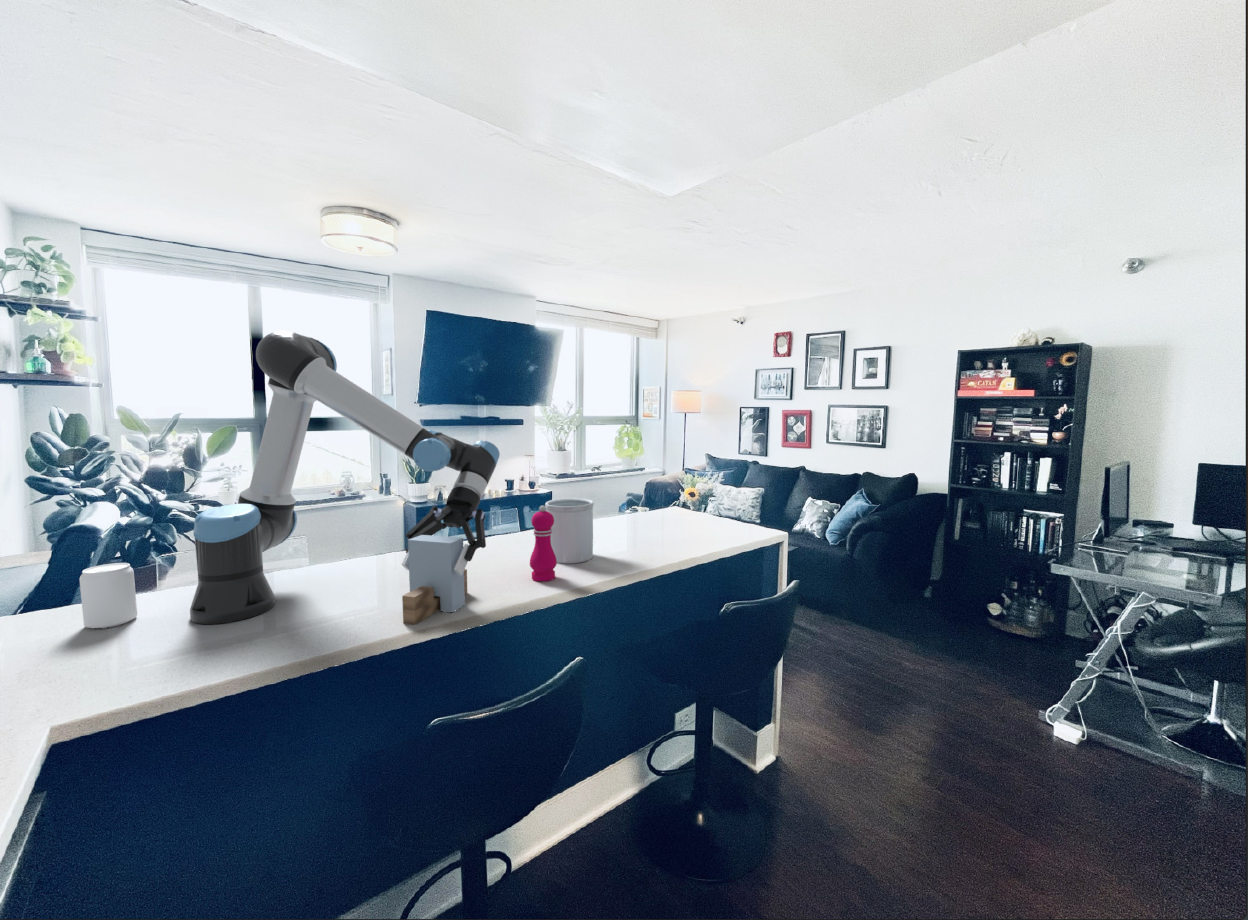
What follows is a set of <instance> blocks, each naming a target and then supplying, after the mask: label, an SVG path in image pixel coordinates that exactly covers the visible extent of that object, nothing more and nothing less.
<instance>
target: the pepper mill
mask: <svg viewBox="0 0 1248 920" xmlns="http://www.w3.org/2000/svg"><path fill="white" fill-rule="evenodd" d="M538 508H539V511H537V512H535V513H534V514H533V515H532V517H531V525H532V527H533V536H535V537H534V539H535V541H534V543H535V544H534V548H533V549H532V550H533V551H532V552H531V554H530V559H529V567H530V568H531V569H532V570H533V571H531V579H533V580H532V581H534V582H538V581H546V582H551V581H553V580H555V578H556V571H555V567H556V566H557V565H558V563H557V561H556V556H555V553H554V551H553V549H552V546H551V535H552V529H551V527H552V526H553V524H554V517H553V515H552V514H551V513H550V512H547V511H546V507H545V505H540V506H539V507H538ZM552 579H553V580H552ZM550 580H551V581H550Z"/></svg>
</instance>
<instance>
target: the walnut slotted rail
mask: <svg viewBox="0 0 1248 920" xmlns="http://www.w3.org/2000/svg"><path fill="white" fill-rule="evenodd" d="M464 591H465V595H467V594H468V569H466V568H465V570H464ZM401 598H402V619H403V620H402V621H403V622H402V623H403V624H409V625H415V624H416V625H417V624H418V622H419V623H420V622H423V621H424V620H426V619H427V618H428V616H429V617H430V616H432V615H433V613H434V612H435V613H437V612H438V611H441V603H440V597H439V596H434V591H433V587H428V586H421V587H419V588H417V589H415V590H413V591H411V592H410V591H409V592H407V593H404V594H403V595H402V597H401ZM437 610H438V611H437ZM436 611H437V612H436ZM435 613H434V614H435ZM426 617H427V618H426ZM423 619H424V620H423Z"/></svg>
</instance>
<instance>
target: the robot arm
mask: <svg viewBox="0 0 1248 920" xmlns="http://www.w3.org/2000/svg"><path fill="white" fill-rule="evenodd" d="M336 359H337V358H336V356H335V355H334V353H333V351H332V350H331V348H330V347H328V345H326V344H324V343H323V342H321V340H318V339H316V338H313V337H310V336H305V335H303V334H299V333H298V332H297V333H296V332H293V331H290V330H289V331H287V330H278V331H273V332H271V333H269V334H267V335H265V336H264V337H263V338H261V340H260V341H258V343H257V346H256V350H255V360H256V363H257V364H258V367H259V368H260V369H261V371H262V372H263V373H264V374H265V375H266V376H267V377H268V378H269V379H268V382H267V385H268V387H269V388H270V389H271V391H272V397H271V401H270V405H269V409H268V413H267V417H266V420H265V421H266V422H265V426H264V429H263V433H262V437H261V442H260V446H259V449H258V453H257V457H256V461H255V465H254V468H253V469H254V470H253V473H252V476H251V481H250V485H249V487H247V488H246V489H244V490H242V491H241V492H240V494H239V496H238V499H237V503H232V504H224V505H221V506H214V507H212V508H209V509H208V508H207V509H206V510H204V511H202V512H200V513H198V514H197V515H196V517H195V518H194V523H193V525H194V528H193V537H194V544H195V557H196V567H197V568H196V569H197V581H198V582H197V587H196V589H195V593H194V596H193V599H192V602H191V605H190V608H189V615H190V621H191V622H192V623H195V624H200V625H215V624H226V623H232V622H237V621H242V620H246V619H250V618H252V617H256V616H259V615H261V614H263V613H266V612H267V611H269V610H271V609H272V608H273V607H274V606H275V595H274V594H275V593H274V592H273V590H272V587H271V586H270V584H269V582H268V580H267V578H266V575H265V573H264V562H263V552H266V551H267V550H270V549H272V548H274V547H275V548H276V547H277V546H279V545H281V544H283V543H284V542H285V541H286V540H287V539H288V538H289V537H291V535H292V534H293V533H294V531H295V530H296V527H297V524H298V518H297V517H298V516H297V512H296V511H295V510H294V508H295V505H296V498H295V497H294V496H293V494H292V489H293V485H294V482H295V481H294V480H295V477H296V473H297V469H298V466H299V461H300V457H301V453H302V450H303V446H304V441H305V439H306V438H305V437H306V434H307V430H308V426H309V423H310V418H311V415H312V410H313V407H314V403H315V402H319V403H321V404H323V405H325V406H326V407H327V408H329V409H330V410H333V411H334V412H336V413H337V414H339V415H340V416H342V417H344V418H345V419H347V420H349V421H350V422H352V423H353V424H355V425H356V426H358V427H360V428H361V429H363V430H365V431H366V432H368V433H370V434H371V435H373V436H374V437H376V438H377V439H379V440H381V441H383V442H385V444H387V445H389V446H390V447H392V448H393V449H395V450H397V451H399V452H400V453H402V454H404V455H405V456H406V457H408V458H409V459H411V460H413V461H414V463H415V465H416V466H417V467H418V468H419V469H420V470H423V471H425V472H437V471H440V470H444V468H445V467H447V468H449V469H452V470H454V471H457V472H459V474H458V476H457V478H456V480H455V481H454V484H453V486H452V489H451V491H450V493H449V495H448V497H447V498H446V501H445V502H446V503H445V506H444V507H443V508H438V507H437V506H436V505H433V506H432V507H431V508H430V510H429V511H428V513H427V514H426V515H425V516H423V518H422V519H420V521H418V522H417V523H416V524H415V525H414V526H413V527H412V528H411V529H410V530H409V531H408V532H407V533H405V537H406V538H407V540H409V539H412V538H414V537H417V536H420V535H431V536H434V535H435V534H437V533H438V532H439V531H440V530H445V529H446V528H447V527H448V528H455V529H461V527H462V530H463V532H464V535H465V537H466V539H467V543H465V544H463V550H462V552H461V554H460V557H459V559H458V561H457V563H456V566H455V568H454V570H455V571H456V573H457V574H458V575H460V576H462V574H463V572H464V570H465V569H466V567H467V564H468V563H469V562H471V561H472V559H473V557H474V555H475V552H476V550H477V549H480V548H482V549H484V548H486V546H487V543H486V542H487V541H486V533H485V532H486V531H485V524H484V521H485V519H486V514H485V512H484V511H483V510H482V508H478V507H479V505H480V503H481V499H482V498H483V496H484V493H485V492H486V489H487V487H488V485H489V482H490V480H491V478H492V476H493V473H494V471H495V469H496V467H497V464H498V461H499V458H500V456H501V455H500V454H501V453H500V450H499V448H498V447H497V446H496V445H495V444H494V443H492V442H491V441H487V440H477V441H476V442H474V444H469V443H466V442H464V441H461V440H458V439H457V438H454V437H451V436H448V435H446V434H444V433H443V432H439V431H435V430H433V429H426V428H424V427H423V426H422V425H420V424H418V422H417V423H416V422H415V421H413V420H412V419H410V418H409V417H408V416H406V415H404V414H403V413H402V412H399V410H397V409H396V408H394V407H392V406H391V405H388V403H385V402H384V401H382V400H381V399H379V398H377V396H375V395H373V394H371V393H370V392H369V391H367V390H365V389H363V388H362V387H360V386H359V385H357V384H356V383H354V382H353V381H351V380H349V379H348V378H346V377H344V376H343V375H342V374H341V373H339V372H337V368H338V367H337V366H338V365H337V360H336ZM473 518H474V524H475V534H476V535H475V536H474V534H473V531H472V529H471V526H470V523H469V522H470V521H471V520H472V519H473ZM475 537H476V539H475ZM405 553H406V555H405V556H404V557H403V561H402V562H401V566H402V567H403V568H404V569H406V571H409V553H408V547H407V548H406V550H405Z"/></svg>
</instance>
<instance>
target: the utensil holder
mask: <svg viewBox="0 0 1248 920" xmlns="http://www.w3.org/2000/svg"><path fill="white" fill-rule="evenodd" d="M544 506H545V507H546V511H547V512H550V513H551V514H552V515H553V517H554V524H553V526H552V527H551V529H552V535H551V546H552V549H553V551H554V553H555V556H556V561H557V564H578V563H584V562H588V561H590V560H591V559H592V558H593V554H594V553H593V552H594V551H593V549H594V517H593V516H594V510H593V509H594V508H593V507H594V501H593V500H592V499H588V498H584V497H583V498H581V497H580V498H579V497H566V498H556V499H551V500H548V501H546V502H545V504H544Z"/></svg>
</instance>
